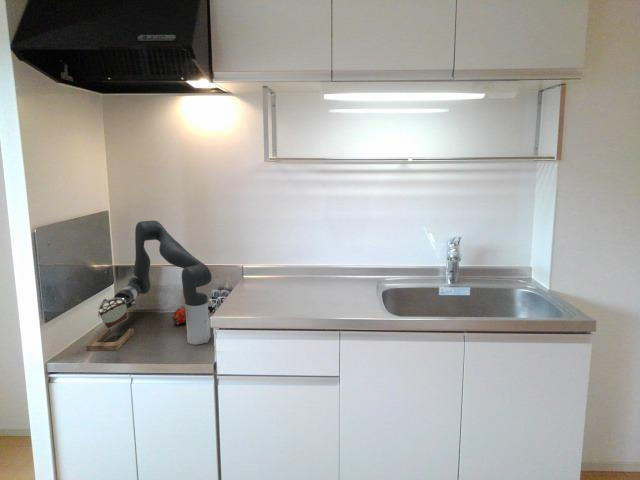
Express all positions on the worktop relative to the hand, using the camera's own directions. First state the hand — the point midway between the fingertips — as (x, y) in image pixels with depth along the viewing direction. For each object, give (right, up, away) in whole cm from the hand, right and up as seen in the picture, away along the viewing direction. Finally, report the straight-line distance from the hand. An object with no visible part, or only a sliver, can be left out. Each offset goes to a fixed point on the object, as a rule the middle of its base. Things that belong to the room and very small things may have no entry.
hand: (110, 309), depth 188 cm
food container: (0, -5, +4) cm, 7 cm away
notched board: (0, -14, +1) cm, 14 cm away
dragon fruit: (+24, -10, +22) cm, 34 cm away
